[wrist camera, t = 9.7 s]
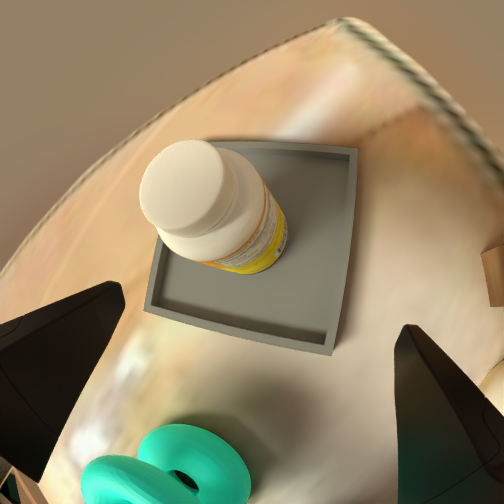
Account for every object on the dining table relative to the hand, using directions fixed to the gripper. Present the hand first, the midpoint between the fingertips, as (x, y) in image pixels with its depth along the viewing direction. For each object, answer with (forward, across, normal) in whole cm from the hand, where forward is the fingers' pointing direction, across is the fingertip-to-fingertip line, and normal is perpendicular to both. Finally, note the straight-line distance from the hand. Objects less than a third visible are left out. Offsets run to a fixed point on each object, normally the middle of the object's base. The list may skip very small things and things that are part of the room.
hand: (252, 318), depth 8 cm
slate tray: (+13, +2, +4) cm, 13 cm away
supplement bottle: (+12, +2, +3) cm, 13 cm away
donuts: (+1, +4, +20) cm, 20 cm away
